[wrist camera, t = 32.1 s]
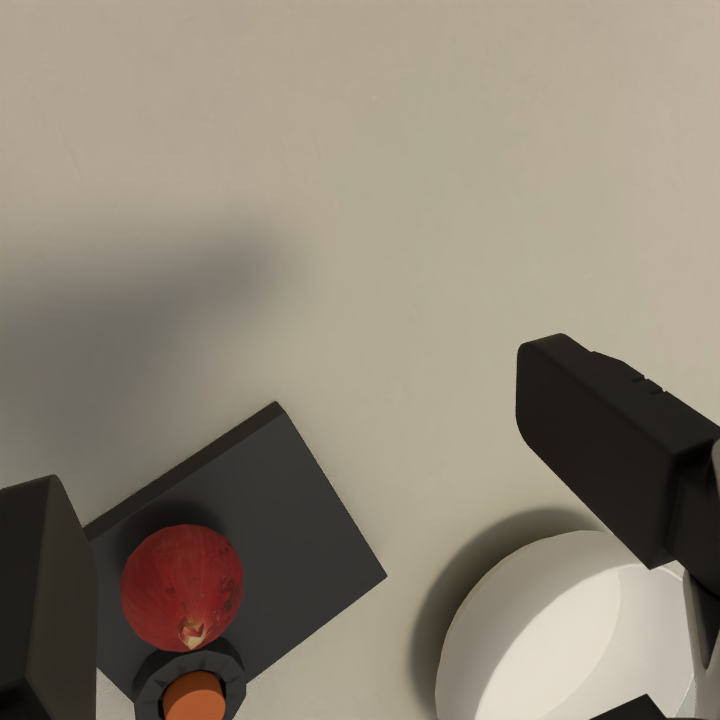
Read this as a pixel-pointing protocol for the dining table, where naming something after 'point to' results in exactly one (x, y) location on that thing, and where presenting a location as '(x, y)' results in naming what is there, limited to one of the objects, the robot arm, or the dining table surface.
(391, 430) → the dining table surface
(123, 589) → the pomegranate
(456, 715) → the bowl
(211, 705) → the button
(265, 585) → the scale
